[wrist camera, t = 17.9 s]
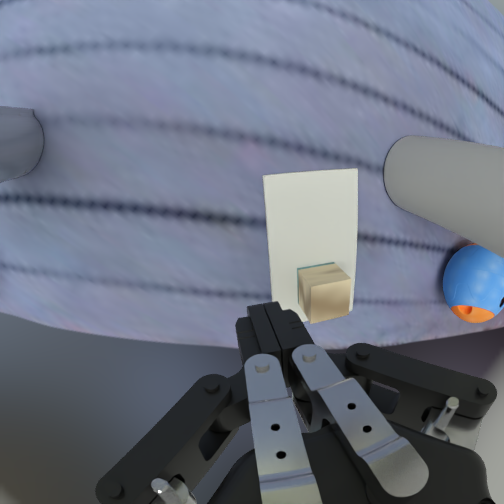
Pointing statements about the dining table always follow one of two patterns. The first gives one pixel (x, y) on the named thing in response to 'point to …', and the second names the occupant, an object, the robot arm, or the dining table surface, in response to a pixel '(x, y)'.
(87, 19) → the dining table surface
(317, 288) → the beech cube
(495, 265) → the treat dispenser ball
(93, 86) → the dining table surface
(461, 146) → the cylinder vase
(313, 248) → the cream mat
